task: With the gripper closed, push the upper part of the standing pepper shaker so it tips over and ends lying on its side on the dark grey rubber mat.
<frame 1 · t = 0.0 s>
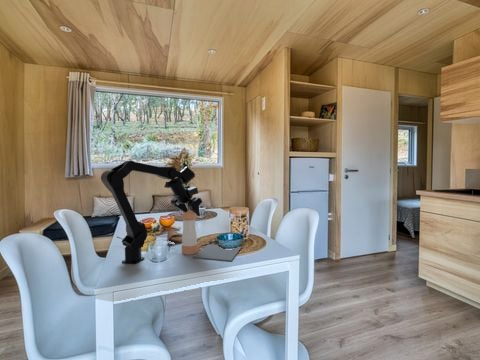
hand: (193, 214, 130), 15 cm above the table, tool tilted 35°, fingers open, 9 cm apart
pepper shaker: (189, 252, 119), on the table
sunglasses case: (175, 240, 139), on the table
rubber mat: (218, 252, 118), on the table
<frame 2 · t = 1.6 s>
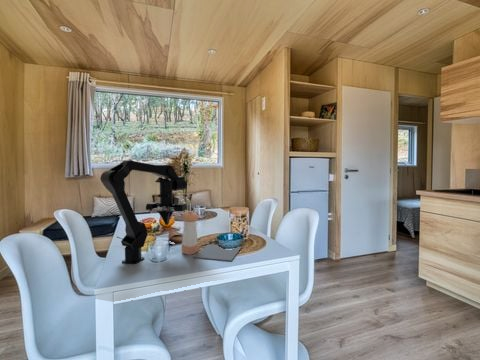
hand: (166, 224, 121), 12 cm above the table, tool pointing down, fingers closed
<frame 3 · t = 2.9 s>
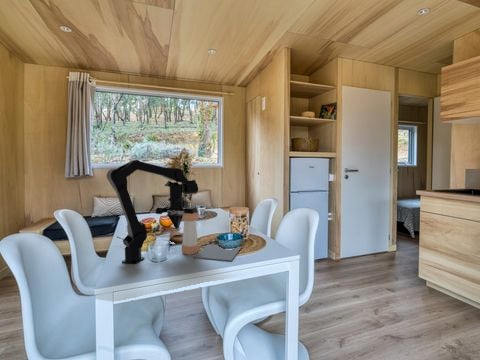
hand: (177, 228, 120), 10 cm above the table, tool pointing down, fingers closed
pepper shaker: (189, 251, 119), on the table, touching gripper
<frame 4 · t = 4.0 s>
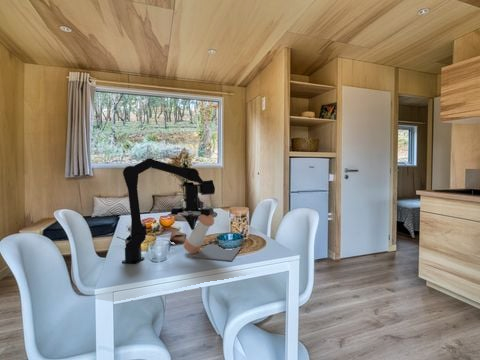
hand: (192, 229, 118), 10 cm above the table, tool pointing down, fingers closed
pepper shaker: (190, 248, 119), point 2 cm above the table
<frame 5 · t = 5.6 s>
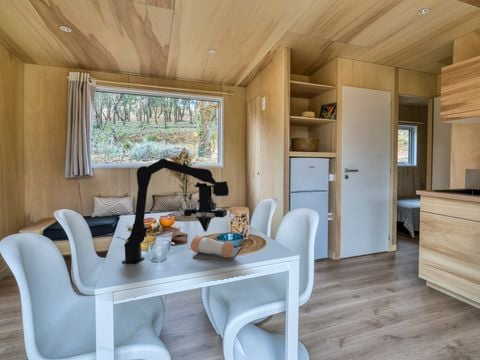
hand: (205, 231, 117), 10 cm above the table, tool pointing down, fingers closed
pepper shaker: (195, 243, 118), point 4 cm above the table, touching rubber mat
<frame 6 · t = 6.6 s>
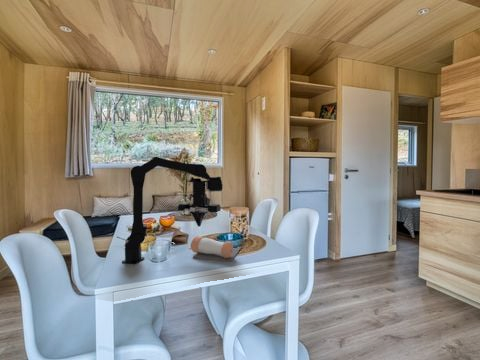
hand: (199, 226, 117), 12 cm above the table, tool pointing down, fingers closed
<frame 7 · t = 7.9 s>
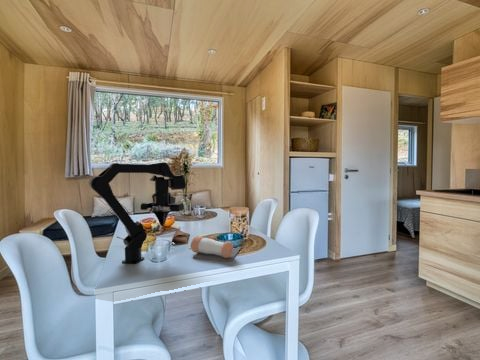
hand: (162, 225, 115), 13 cm above the table, tool pointing down, fingers closed
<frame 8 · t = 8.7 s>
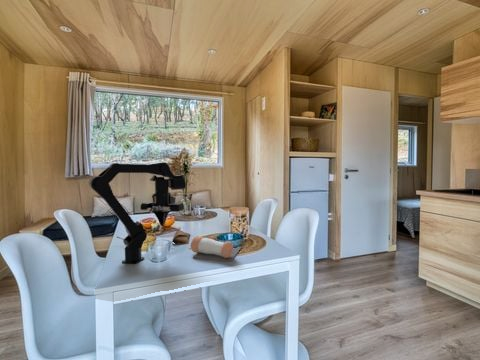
hand: (162, 225, 115), 13 cm above the table, tool pointing down, fingers closed
at the end: pepper shaker tilted 90°; pepper shaker touching rubber mat; pepper shaker inside the target area (2.3 cm from its centre), point 4.1 cm above the table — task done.
